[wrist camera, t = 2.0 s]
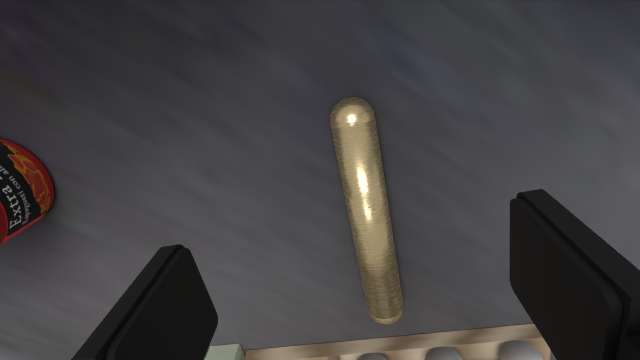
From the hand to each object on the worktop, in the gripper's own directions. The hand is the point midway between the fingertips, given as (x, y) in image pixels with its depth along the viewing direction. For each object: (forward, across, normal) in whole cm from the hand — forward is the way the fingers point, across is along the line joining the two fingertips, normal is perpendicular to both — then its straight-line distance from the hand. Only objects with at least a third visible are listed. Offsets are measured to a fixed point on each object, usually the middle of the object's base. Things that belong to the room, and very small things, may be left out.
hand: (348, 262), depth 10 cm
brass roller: (+16, -1, +8) cm, 18 cm away
